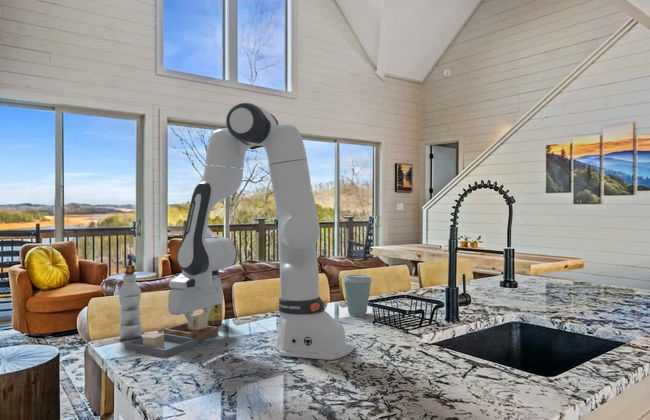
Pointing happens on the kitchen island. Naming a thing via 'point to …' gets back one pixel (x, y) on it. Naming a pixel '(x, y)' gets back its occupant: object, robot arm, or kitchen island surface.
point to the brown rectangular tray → (192, 332)
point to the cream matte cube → (199, 321)
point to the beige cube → (154, 340)
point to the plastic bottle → (130, 308)
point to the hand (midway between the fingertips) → (197, 323)
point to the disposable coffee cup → (357, 293)
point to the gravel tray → (170, 345)
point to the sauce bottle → (215, 310)
